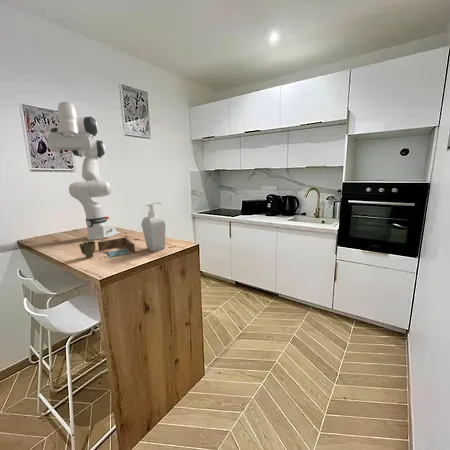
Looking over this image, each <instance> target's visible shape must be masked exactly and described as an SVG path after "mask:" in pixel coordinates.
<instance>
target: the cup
mask: <svg viewBox="0 0 450 450" xmlns="http://www.w3.org/2000/svg"><path fill="white" fill-rule="evenodd" d="M78 245H79V249H80V251H81V253H82V255H83V256H85V258H86V259H91V258H93V256H94V253H95V252H96V241H95V240H88V241H83V242H81V243H78Z"/></svg>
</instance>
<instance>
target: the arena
mask: <svg viewBox="0 0 450 450" xmlns="http://www.w3.org/2000/svg"><path fill="white" fill-rule="evenodd" d="M97 246H98V247H97V248H98V251H99V252H101V251H106V250H112V249H116V248H118V250H113V251H107V252H106V254H107V255H108V257H109V258H111V259H112V258H115V257H119V256H125V255H130V254H131V253H132V254H136V247H135V243H134V242H133V241H131V240H130V239H129V238H128V237H126V236H125V237H119V238H115V239H108V240H103V241H97ZM122 247H126V248H124V249H119V248H122Z"/></svg>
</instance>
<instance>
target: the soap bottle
mask: <svg viewBox="0 0 450 450" xmlns="http://www.w3.org/2000/svg"><path fill="white" fill-rule="evenodd" d="M155 204H157V205H162V203H161V202H156V201H155V202H154V201H153V202H148V203H146V204H145V207H148V209H149V211H147V216H146V217H144V218H143V219H142V221H141V228H142V232H143V236H144V241H145V244H146V248H147V249H148V250H149V251H152V252H157V251H161V250H165V249H166V223H165V221H164V219H163V218H162V217H161V216H159V215H157V212H156V210H154V205H155Z"/></svg>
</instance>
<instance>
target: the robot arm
mask: <svg viewBox="0 0 450 450" xmlns="http://www.w3.org/2000/svg"><path fill="white" fill-rule="evenodd" d="M57 119H58V120H57V121H58V126H55V127H51V128H49V129H48V133H49V134H48V135H47V136H46V137H47V138H46V145H47V148H48V149H49V150H50V151H55V152H57V154H58V157H59V158H60V159H64V155H63V153H61V151H71V153H72V155H73V156H75V157H80V158H84V159H83V161H82V166H81V167H82V168H81V176H82V178H83V180H84V181H83V180H82V181H76V182H72V183H70V184H69V186H68V193H69V195H70V196H71V197H72V198H73V199H74V200H75V199H76V200H77V201H78V202H79V203H80V204H81V206H82V207H83V209H84V214H85V224H86V226H87V227H86V229H87V233H86V234H87V236H86V239H87V240H88V241H95V240H101V239H110V238H112V237H114V236H116V235H119V234H121V231H119V230H117V228H116V226H115V224H113V223H111V222H109V221H107V220H109V219H110V216H105V215H104V209H103V205H102V204H100V203H98V202H96V201H94V200H93V199H92V198H101V197H106V196H109V195H110V194H111V193H112V185H111V184H110V182H108V181H107V180H105V179H103V178H102V177H101V172H100V171H101V168H100V162H99V159H102V157H103V156H104V155H105V153H106V148H107V147H106V146H105V144H104V142H103V140H98V139H96V140H94V139H93V138H94V137H96V135H97V134H98V132H99V125H98V123H97V122H98V121H97V120H96V118H94V117H92V116H78V115H77V110H76V106H75V105H74V104H73V103H71V102H60V103H59V102H58V106H57Z"/></svg>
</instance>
